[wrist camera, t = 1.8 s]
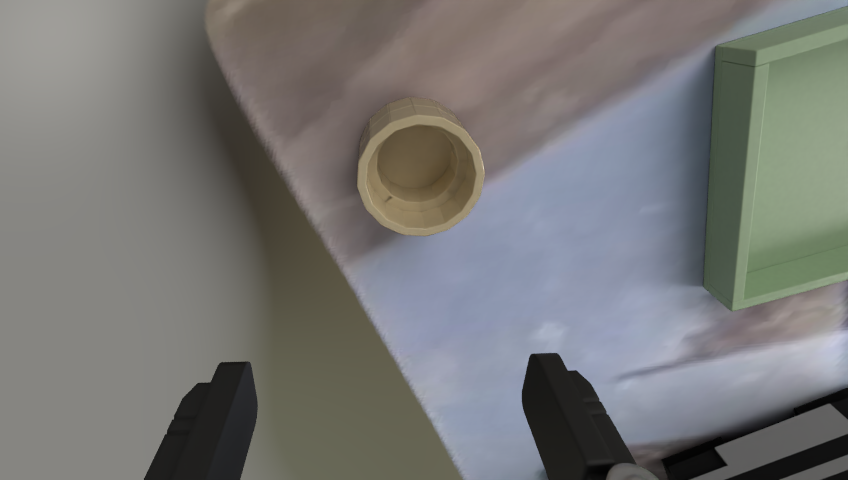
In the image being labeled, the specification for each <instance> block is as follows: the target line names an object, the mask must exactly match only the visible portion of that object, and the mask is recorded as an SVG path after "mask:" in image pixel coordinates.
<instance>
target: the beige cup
mask: <svg viewBox="0 0 848 480" xmlns="http://www.w3.org/2000/svg"><path fill="white" fill-rule="evenodd" d="M484 175H485V171H484V167H483V162H482V157H481V153H480V150H479V148H478V146H477V145H476V144H475V142H474V141H473V139H472V138H471V137H470V135H469V134H468V133H467V131H466V130H465V128H464V127H463V126H462V124H461V123H460V122H459V120H458V119H457V117H456V116H455V115H454V113H453V112H452V111H451V110H450V109H448V108H446V107H445V106H443V105H441V104H439V103H438V102H436V101H434V100H431V99H424V98H415V97H410V98H409V97H407V98H404V99H401V100H398V101H394V102H391V103H388V104H387V105H385V106H384V107H383V108H382V109H381V110H379V111H378V112H377V113H376V114H375V115H373V116H372V117H371V119H370V120H369V122H368V124H367V126H366V128H365V130H364V132H363V134H362V136H361V139H360V149H359V160H358V176H357V188H358V191H359V193H360V196H361V199H362V201H363V204H364V207H365V208H366V210H367V211H368V212H369V213H370V214H371V215H372V216H373V217H374V218H375V219H376V220H377V221H378V222H379V223H380V224H381V225H382V226H384V227H386V228H389V229H391V230H393V231H395V232H398V233H400V234H403V235H413V236H429V235H432V234H435V233H439V232H442V231H446V230H448V229H450V228H451V227H453V226H454V225H456V224H457V223H458V222H460V221H461V220H462V219H464V218H465V217H466V216H467V215H468V214H469V213H470V211H471V210H472V208H473V207H474V205H475V203H476V202H477V200H478V199H479V197H480V195H481V190H482V185H483V180H484Z"/></svg>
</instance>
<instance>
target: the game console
mask: <svg viewBox="0 0 848 480" xmlns="http://www.w3.org/2000/svg"><path fill="white" fill-rule="evenodd" d="M794 413H795V417H793V418H790V419H788V420H785V421H782V422H780V423H777V424H775V425H772V426H769V427H767V428H764V429H762V430H759V431H756V432H754V433H751V434H749V435H746V436H743V437H741V438H738V439H736V440H733V441H730V442H728V443H725V442H724V441H723V440H722V438H721V437H719V438H717V439H714V440H712V441H709V442H707V443H704V444H701V445H699V446H696V447H694V448H691V449H688V450H686V451H683V452H681V453H678V454H676V455H673V456H670V457H668V458H665V459H663V460H662V463H663V466H664V468H665V471H666V474H667V476H668V479H669V480H848V388H846V389H844V390H841V391H838V392H836V393H833V394H831V395H828V396H825V397H823V398H820V399H818V400H815V401H813V402H810V403H807V404H805V405H802V406H800V407H797V408H794Z"/></svg>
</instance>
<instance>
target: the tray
mask: <svg viewBox="0 0 848 480" xmlns="http://www.w3.org/2000/svg"><path fill="white" fill-rule="evenodd" d="M845 280H848V6H846V7H843V8H840V9H836V10H833V11H830V12H826V13H823V14H820V15H816V16H813V17H810V18H806V19H803V20H800V21H796V22H793V23H790V24H786V25H783V26H780V27H776V28H773V29H770V30H767V31H763V32H760V33H757V34H753V35H750V36H747V37H743V38H740V39H737V40H733V41H730V42H727V43H723V44H720V45H717V46H716V51H715V70H714V89H713V109H712V128H711V147H710V166H709V185H708V204H707V223H706V243H705V262H704V281H703V287H704V288H705V289H706V290H707V291H709V293H711V294H712V295H713V296H714V297H715V298H716V299H717V300H719V301H720V302H721V303H722V304H723V305H724V306H726V307H727V308H728V309H729V310H730V311H732V312H733V311H736V310H740V309H743V308H747V307H751V306H754V305H758V304H762V303H765V302H769V301H772V300H776V299H780V298H783V297H787V296H791V295H794V294H798V293H801V292H805V291H809V290H812V289H816V288H819V287H823V286H827V285H830V284H834V283H838V282H841V281H845Z"/></svg>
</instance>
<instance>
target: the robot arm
mask: <svg viewBox="0 0 848 480" xmlns="http://www.w3.org/2000/svg"><path fill="white" fill-rule="evenodd" d="M522 404H523V410H524V413H525V416H526V418H527V421H528V424H529V427H530V429H531V432H532V435H533V437H534V440H535V443H536V446H537V448H538V451H539V454H540V457H541V459H542V462H543V465H544V467H545V470H546V473H547V476H548V478H549V480H659V479H658V478H657V477H656V476H655V475H654V474H653V473H651V472H650V471H648V470H647V469H645V468H643V467H641V466H638V465H637V464H636V462H635V461H634V459H633V457H632V456H631V454H630V452H629V450H628V448H627V447H626V445H625V443H624V441H623V440H622V438H621V436H620V434H619V433H618V431H617V429H616V427H615V426H614V424H613V422H612V420H611V419H610V417H609V415H607V414H606V410H605V408H604V406H603V405H602V403H601V402H600V401H599V398H598V396H597V394H596V392H595V390H594V389H593V387H592V385H591V383H589V382H588V381H587V380H586V379H585V378H584V377H583V376H582V375H581V374H580V373H578V372H577V371H576V370H575V371H568V370H567V369H566V367H565V365H564V363H563V361H562V359H561V357H560V356H559V354H557V353H541V354H531V355H530V357H529V361H528V366H527V371H526V375H525V380H524V384H523V389H522ZM257 407H258V405H257V396H256V390H255V384H254V379H253V373H252V367H251V364H250V362H221V363H220V364H219V365H218V367H217V369H216V371H215V374H214V376H213V378H212V381H211V383H198V384H196V386H194V388H192V390H191V391H190V392H189V393H188V394H187V395H186V396H185V397H184V398H183V399H182V401H181V403H180V405H179V407H178V409H177V411H176V413H175V415H174V420H172V422H171V424H170V426H169V428H168V430H167V434H166V435H165V436H164V438H163V440H162V443H161V445H160V447H159V449H158V451H157V453H156V455H155V457H154V459H153V461H152V463H151V466H150V468H149V470H148V472H147V474H146V476H145V478H144V480H240V478H241V474H242V471H243V467H244V463H245V460H246V456H247V453H248V449H249V445H250V442H251V438H252V435H253V431H254V427H255V424H256V418H257Z"/></svg>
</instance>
